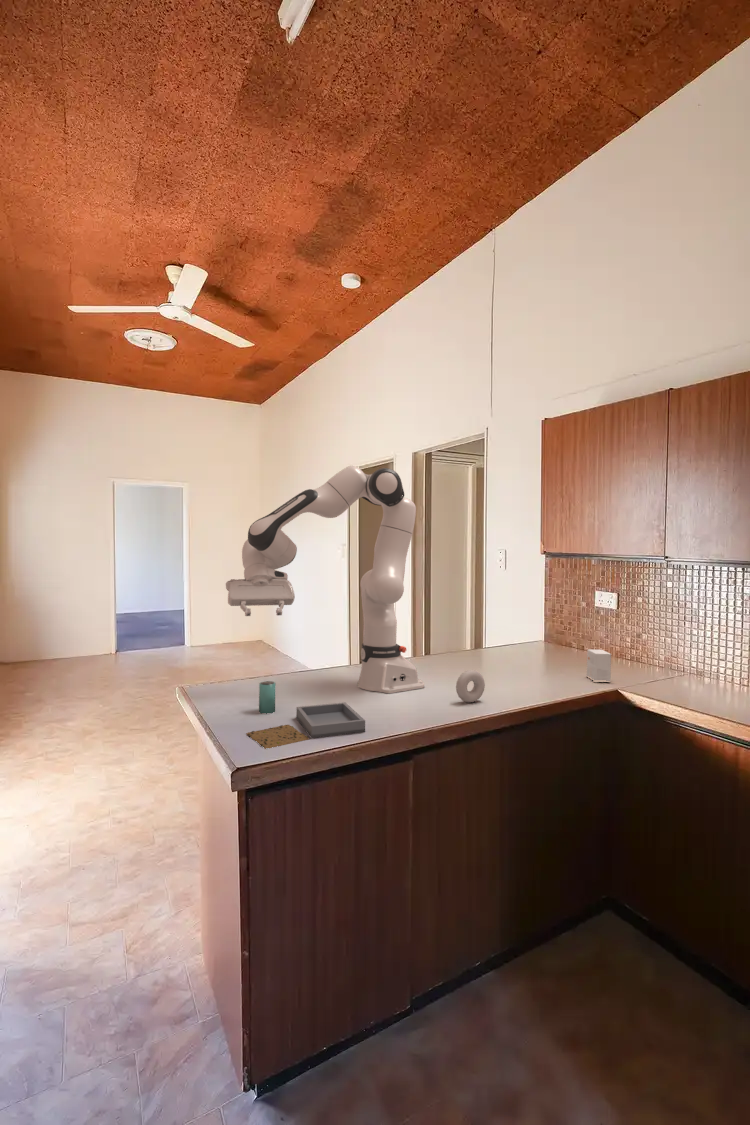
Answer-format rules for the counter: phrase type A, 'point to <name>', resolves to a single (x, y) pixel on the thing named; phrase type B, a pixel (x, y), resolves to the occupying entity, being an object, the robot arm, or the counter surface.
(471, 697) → the donut
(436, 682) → the counter surface
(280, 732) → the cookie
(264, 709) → the cup
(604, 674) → the small box
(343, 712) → the tray
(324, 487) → the robot arm
